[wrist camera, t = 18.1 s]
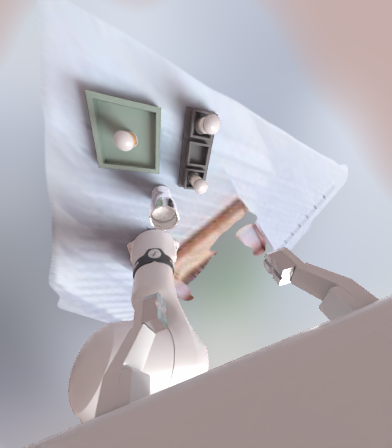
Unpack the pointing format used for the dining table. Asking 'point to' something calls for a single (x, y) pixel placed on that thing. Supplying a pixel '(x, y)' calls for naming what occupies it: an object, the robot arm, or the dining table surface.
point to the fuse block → (194, 148)
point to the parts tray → (125, 121)
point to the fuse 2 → (197, 182)
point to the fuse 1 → (207, 124)
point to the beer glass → (163, 209)
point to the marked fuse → (125, 140)
